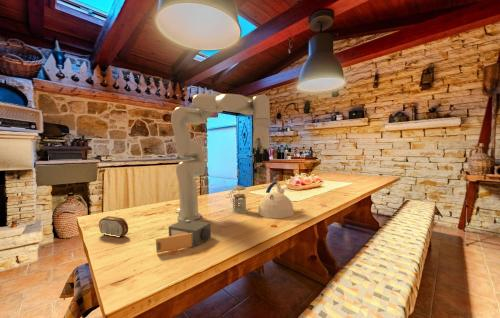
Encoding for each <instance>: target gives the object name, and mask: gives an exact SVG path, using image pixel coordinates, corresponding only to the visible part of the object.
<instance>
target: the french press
mask: <svg viewBox="0 0 500 318" xmlns="http://www.w3.org/2000/svg"><path fill="white" fill-rule="evenodd" d="M236 172H237V174H238V175H237V176H238V179H240V174H239V172H241V170H240V169H237V170H236ZM246 189H247V188H246V187H245V186H242V185H237V186H234V187H232V190H231V191H230V192H229V196H228V197H229V200H230V202H231V203H232V210H231V213H232V214H236V215H242V214H246V213H248V212H249V209H247V198H246V195H245V194H244V193H237V194H233V193H235V192H236V191H238V192H240V191H245V190H246ZM232 195H233V196H232Z"/></svg>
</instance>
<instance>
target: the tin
mask: <svg viewBox="0 0 500 318" xmlns="http://www.w3.org/2000/svg"><path fill="white" fill-rule="evenodd" d="M98 227H99V232H100V233H101V234H102V233H106V234H111V235H116V236H122V237H124V236H126V235H127V234H128V232H129V225H128V223H127V221H126V219H124V218H122V217H119V216H118V217H117V216H105V217H103V218H101V219H100V220H99V222H98Z"/></svg>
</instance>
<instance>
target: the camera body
mask: <svg viewBox="0 0 500 318" xmlns="http://www.w3.org/2000/svg"><path fill="white" fill-rule="evenodd" d="M211 231H212V230H211V222H208V221H206V222H205V221H200V220H186V219H184V220H182V221H177V222H176V223H173V224H171V225H169V226H168V237H169V236H175V235H181V234H187V233H193V247H198V246H199V245H200V244H202V243H204V242H205V241H207V240H208V239H210V238H211V237H212V233H211Z"/></svg>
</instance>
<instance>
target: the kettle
mask: <svg viewBox="0 0 500 318" xmlns="http://www.w3.org/2000/svg"><path fill="white" fill-rule="evenodd" d="M274 186H276V192H274V191H273V192H271V190H272V189H273V187H274ZM265 193H267V194H266V195H265V196H263V197H262V198H261V200H260V202H259V204H258V210H257V214H258V215H259V216H261V217H262V218H266V219H273V218H274V220H275V219H276V220H277V219H286V218H290V217H292V216H293V215H294V214H295V212H294V205H293V203H292V201H291V199H290V198H289V197H288V196H286V195H285V189H284V188H282V186H281V183H279V181H273V182H272V183H270V184H269V186H268V187H267V189H266V191H265Z"/></svg>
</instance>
